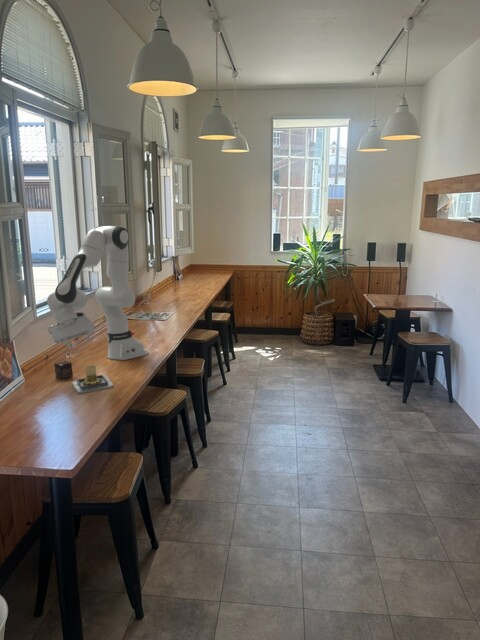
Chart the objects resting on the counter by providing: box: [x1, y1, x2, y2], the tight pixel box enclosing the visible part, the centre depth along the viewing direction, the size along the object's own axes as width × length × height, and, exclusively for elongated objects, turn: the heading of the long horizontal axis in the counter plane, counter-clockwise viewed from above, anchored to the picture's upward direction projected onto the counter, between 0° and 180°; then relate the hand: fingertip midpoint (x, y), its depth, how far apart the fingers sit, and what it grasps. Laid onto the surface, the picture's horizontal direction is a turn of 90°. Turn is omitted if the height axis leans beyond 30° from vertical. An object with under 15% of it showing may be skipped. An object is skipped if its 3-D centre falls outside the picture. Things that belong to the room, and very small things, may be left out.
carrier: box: [71, 374, 115, 395], centre depth 227 cm, size 16×16×2 cm
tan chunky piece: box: [82, 365, 102, 386], centre depth 226 cm, size 9×8×8 cm
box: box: [53, 360, 74, 380], centre depth 239 cm, size 6×6×7 cm
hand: (80, 343), depth 231 cm, fingers open, 8 cm apart
